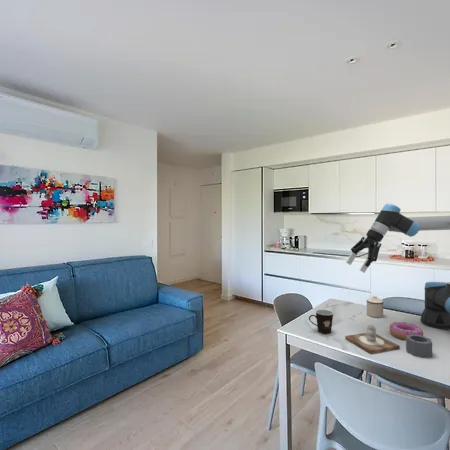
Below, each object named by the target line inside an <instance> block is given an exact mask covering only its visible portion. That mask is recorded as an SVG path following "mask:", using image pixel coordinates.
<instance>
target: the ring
mask: <svg viewBox="0 0 450 450" xmlns="http://www.w3.org/2000/svg"><path fill="white" fill-rule="evenodd" d="M405 343H406V344H405V349H406V353H408V354H411V355H412V356H414V357H419V358H422V359H423V358H424V359H427V358H431V357H432V358H433V341H432V339H431V338H429V337H426V336H424V335H423V336H421V335H415V334H411V335H406V340H405Z"/></svg>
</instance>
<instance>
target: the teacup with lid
mask: <svg viewBox="0 0 450 450" xmlns="http://www.w3.org/2000/svg"><path fill="white" fill-rule="evenodd" d="M365 301H366V315H367V316H369V317H371V318H377V319H380V318H383V317H384V303H385V302H384V300H383V299H380V298H378V296H377V295H372V297H369V298H366V300H365Z"/></svg>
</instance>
